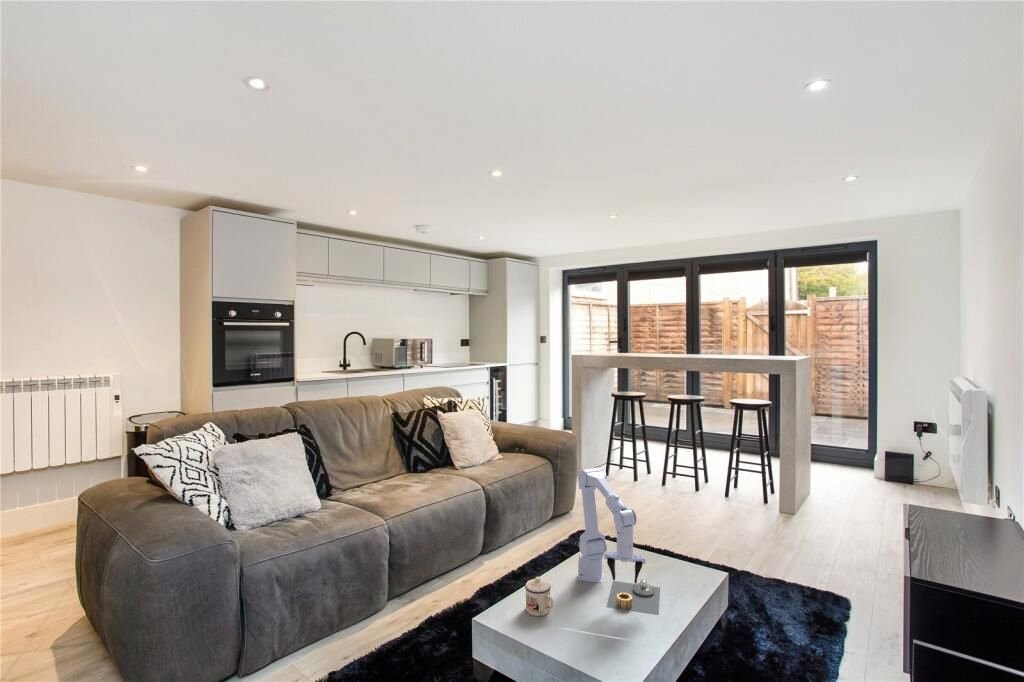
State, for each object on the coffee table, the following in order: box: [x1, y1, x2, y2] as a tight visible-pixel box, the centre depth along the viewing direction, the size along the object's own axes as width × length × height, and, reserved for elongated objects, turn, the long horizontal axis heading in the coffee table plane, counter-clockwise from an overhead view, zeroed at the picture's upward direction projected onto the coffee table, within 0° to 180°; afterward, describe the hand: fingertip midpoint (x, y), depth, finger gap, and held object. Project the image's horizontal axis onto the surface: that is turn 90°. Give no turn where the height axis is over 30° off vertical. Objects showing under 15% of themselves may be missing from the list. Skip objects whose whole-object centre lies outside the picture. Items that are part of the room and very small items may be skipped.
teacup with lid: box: [524, 576, 555, 617], centre depth 186 cm, size 12×9×12 cm
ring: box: [617, 592, 632, 610], centre depth 189 cm, size 5×5×3 cm
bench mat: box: [606, 580, 661, 616], centre depth 195 cm, size 18×20×1 cm
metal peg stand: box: [633, 579, 655, 597], centre depth 199 cm, size 8×8×4 cm
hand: (624, 580), depth 189 cm, fingers open, 7 cm apart
